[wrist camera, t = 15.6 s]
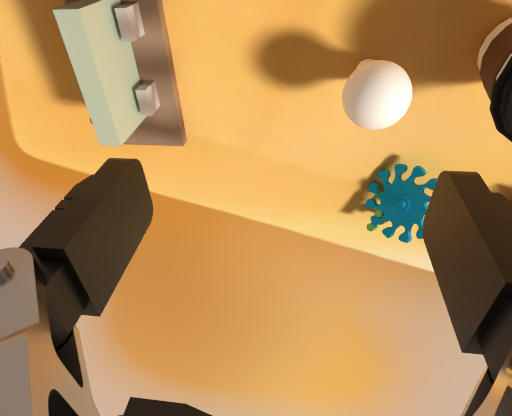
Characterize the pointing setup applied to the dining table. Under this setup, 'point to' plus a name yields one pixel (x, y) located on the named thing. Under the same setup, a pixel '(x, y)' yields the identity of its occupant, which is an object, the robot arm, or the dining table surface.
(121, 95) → the door
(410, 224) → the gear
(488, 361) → the robot arm
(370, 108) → the lightbulb
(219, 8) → the dining table surface
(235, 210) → the dining table surface
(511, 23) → the coffee cup
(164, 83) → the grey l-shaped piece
